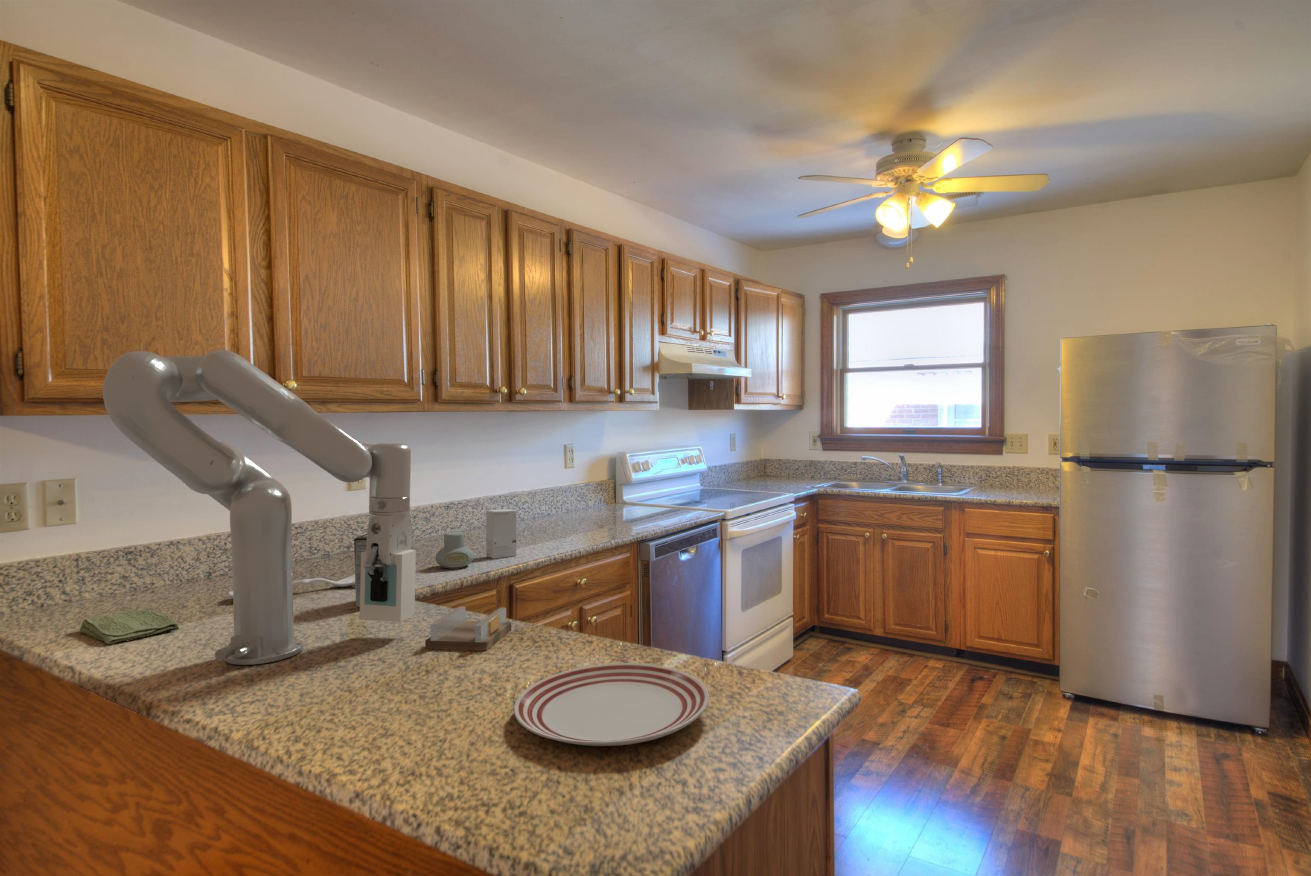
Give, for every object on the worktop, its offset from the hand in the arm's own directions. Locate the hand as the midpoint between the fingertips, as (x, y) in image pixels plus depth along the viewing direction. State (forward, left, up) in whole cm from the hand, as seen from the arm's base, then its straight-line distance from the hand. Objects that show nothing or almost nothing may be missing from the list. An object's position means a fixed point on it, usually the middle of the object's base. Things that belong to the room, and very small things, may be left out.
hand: (387, 596), depth 137 cm
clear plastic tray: (+1, -17, -7) cm, 18 cm away
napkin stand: (+1, -17, -8) cm, 19 cm away
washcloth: (-2, +56, -9) cm, 57 cm away
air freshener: (+67, +16, -8) cm, 69 cm away
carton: (0, 0, -4) cm, 4 cm away
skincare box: (+84, +8, -8) cm, 84 cm away
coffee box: (+26, +17, -8) cm, 32 cm away
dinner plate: (-31, -52, -9) cm, 61 cm away
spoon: (+33, +42, -9) cm, 54 cm away
